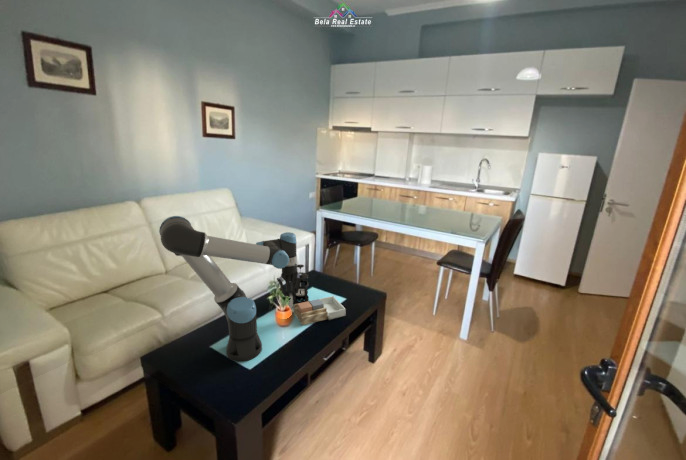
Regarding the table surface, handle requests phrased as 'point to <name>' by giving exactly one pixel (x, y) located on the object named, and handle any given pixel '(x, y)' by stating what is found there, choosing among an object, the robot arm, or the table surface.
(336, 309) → the tray
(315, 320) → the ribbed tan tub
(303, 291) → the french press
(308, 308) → the terracotta tile
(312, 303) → the slate tile
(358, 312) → the table surface
